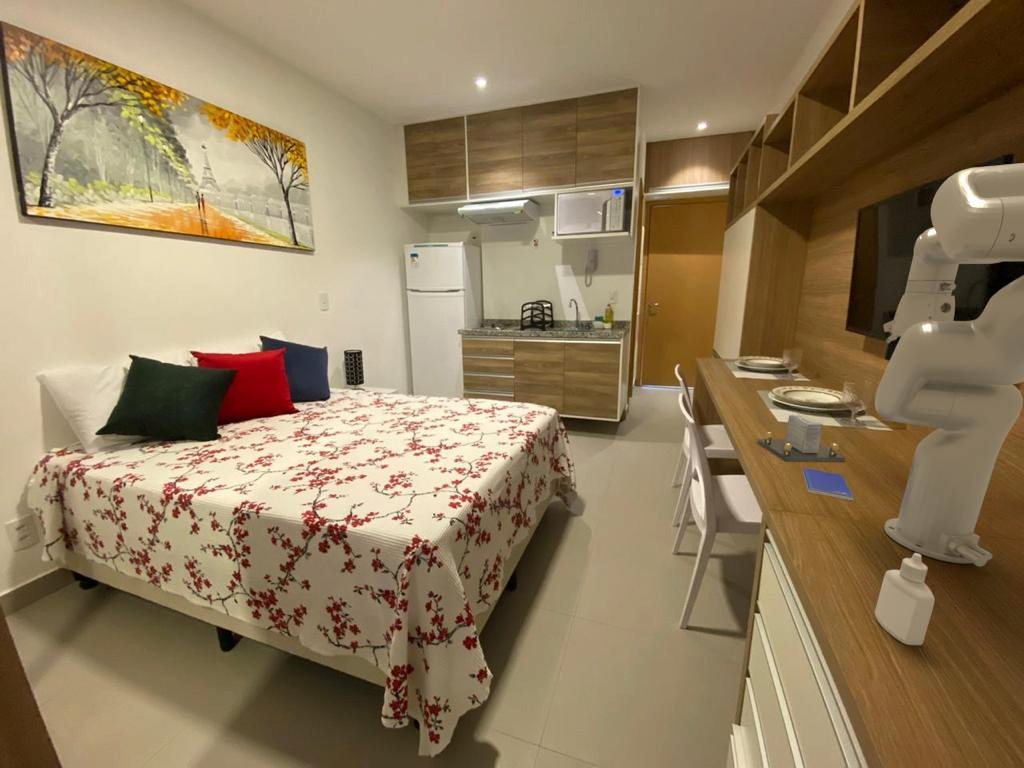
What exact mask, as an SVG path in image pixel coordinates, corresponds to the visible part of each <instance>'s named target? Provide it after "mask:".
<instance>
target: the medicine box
mask: <svg viewBox="0 0 1024 768" xmlns="http://www.w3.org/2000/svg"><path fill="white" fill-rule="evenodd" d="M823 426H824V424H823V422H820V421H818V420H816V419H813V418H811V417H809V416H806V414H805V415H804V414H790V415H788V420H787V426H786V432H785V433H786V434H785V438H784V439H785V443H786V442H788V443H791V444H792V447H793V448H795V449H797V450H799V451H800V452H802V453H818V451H819V445H820V444H821V438H822V432H823Z"/></svg>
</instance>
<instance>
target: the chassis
mask: <svg viewBox="0 0 1024 768" xmlns="http://www.w3.org/2000/svg"><path fill="white" fill-rule="evenodd" d="M756 442H757V444H758V445H760V446H761V447H763V448H764V449H765V450H766V451H767V450H768V451H769V452H770V453H772V454H773V455H775V456H776V457H778V458H779V459H780V460H782V461H784V462H825V463H826V462H829V463H830V462H834V463H836V462H837V461H840V462H841V461H845V460H846V457H845V456H843V455H841V454H840V453H838V449H839V447H840V446H839V443H837V442H831V444H830V448H829V447H827V446H825V445H823V444H821V443H820V445H819V451H818V453H802V452H800V451H799V450H797V449H795V448H793V447H792V444H791V443H788V442H786V443H785V438H783V439H781V438H780V439H779V438H777V439H776V438H773V431H769V430H768V431H766V433H765V437H764V438H758V439H757V441H756ZM845 462H846V461H845ZM841 463H842V462H841Z"/></svg>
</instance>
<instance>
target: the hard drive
mask: <svg viewBox="0 0 1024 768" xmlns="http://www.w3.org/2000/svg"><path fill="white" fill-rule="evenodd" d="M802 474H803V476H804V477H803V478H804V481H805V484H806V487H807V491H808V493H812V494H816V495H821V496H826V497H831V498H836V499H841V500H846V499H847V500H846V501H850V500H852V502H854V499H855V497H854V494H853V493H852V491H851V488H850V487H849V485H848V483H847V481H846V479H845V477H844V475H843V474H839V473H833V472H827V471H823V470H818V469H811V468H806V467H805V468H802Z"/></svg>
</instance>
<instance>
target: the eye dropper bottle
mask: <svg viewBox="0 0 1024 768" xmlns="http://www.w3.org/2000/svg"><path fill="white" fill-rule="evenodd" d="M928 569H929V568H928V566H927V565H926V564H925V563H923V561H922V554H920V553H918V552H914V553H913V554H912V556H911V557H905V558H903V559H902V562H901V565H900V569H889V570H886V571H885V574H884V575H883V580H882V584H881V588H880V591H879V595H878V597H877V602H876V607H875V610H874V616H875V619H876V621H878V623H879V625H880V626H881V627H882V628H883V629H884V630H885V631H886V632H887V633H888V634H889V635H890V636H892V637H894V639H896V640H898V641H899V642H900V643H902V644H904V645H907V646H922V645H923V643H924V640H925V637H926V633H927V629H928V626H929V623H930V619H931V616H932V613H933V609H934V606H935V602H936V601H935V596H934V594H933V592H932V590H931V588H930V587H929V586H928V585H927V584H926V583H925V580H926V576H927V573H928Z"/></svg>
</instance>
